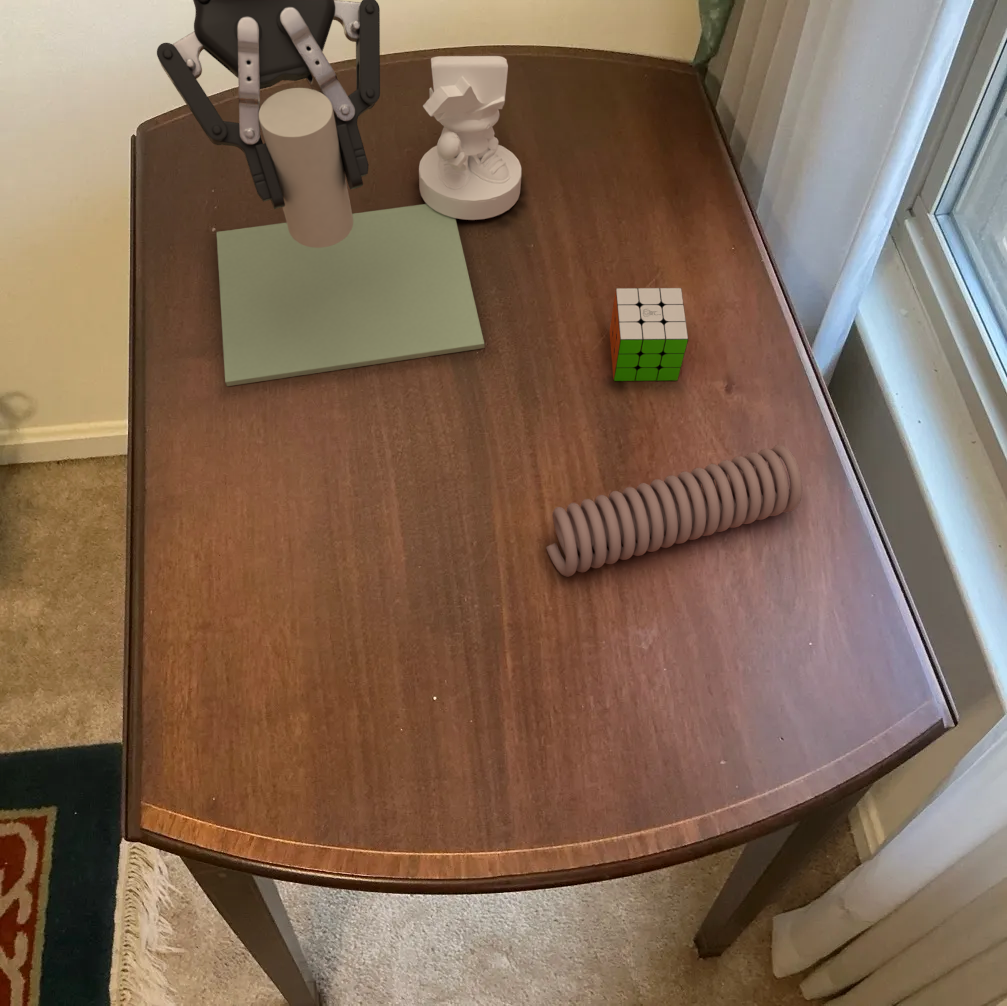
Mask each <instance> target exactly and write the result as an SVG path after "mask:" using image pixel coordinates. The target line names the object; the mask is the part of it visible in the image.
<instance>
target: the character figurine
mask: <svg viewBox="0 0 1007 1006" xmlns="http://www.w3.org/2000/svg"><path fill="white" fill-rule="evenodd" d="M430 65H431V75H432V87H433V88H432V87H430V88H429V98H428V99H427V100H426V102H425V103H423V105H422V107H423V109H424V110H425V111H426V113H427V114H428V115H429V116H430V117H433V118H434V119H435V120H436V121H437V122H439V123H440V124H441V125H442V126H443V128H442V130H441V133H440V136H439V138H438V140H437V144H436V145H435V146H433V147H431V148H430V149H429V150H428V151H427V152H425V153H424V155H423V156H422V158H421V159H420V161H419V166H418V179H419V180H418V185H419V186H418V187H419V188H418V189H419V193H420V194H419V195H420V197H421V198H422V200H423V201H424V203H425V204H428V205H429V206H430V207H431V208H432V209H434V210H435V211H437V212H439V213H441V214H443V215H446V216H449V217H453V218H456V219H459V220H466V221H467V220H468V221H475V220H476V221H477V220H485V219H491V218H494V217H497V216H500V215H503V214H504V213H506V212H507V211H510V209H511V208H512V207H513V206H515V204H516V203H517V201H518V200H519V199H520V194H521V187H522V186H521V184H522V165H521V162H520V160H519V159H518V158H517V156H516V155H515V154H514V153H513V152H512V151H510V150H509V149H507V148H506V147H505V146H502V144H501V145H500V144H499V139H498V138H497V137H495V135H496V133H495V130H494V128H493V127H494V126H495V125H496V124H497V123H498V122H499V119H500V111H499V110H503V107H504V106H505V102H506V92H507V91H506V90H507V82H508V72H509V71H508V70H509V64H508V61H507V58H505V57H504V56H502V55H453V56H452V55H451V56H450V55H447V56H444V55H443V56H442V55H441V56H433V57H431V58H430Z"/></svg>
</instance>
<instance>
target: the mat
mask: <svg viewBox="0 0 1007 1006" xmlns="http://www.w3.org/2000/svg"><path fill="white" fill-rule="evenodd" d="M352 215H353V227H352V229H351V231H350V233H349V234H348V236H347V237H346V238H344V239H343V240H342V241H340V242H339V243H337V244H334V245H332V246H328V247H321V248H314V247H308V246H305V245H302V244H300V243H298V242H297V241H296V240H294V239H293V237H292V236H291V235H290V233H289V230H288V226H287V222H281V223H280V222H279V223H274V224H273V223H272V224H265V225H259V226H252V227H251V226H250V227H244V228H236V229H229V230H222V231H221V230H220V231H216V248H217V249H216V251H217V264H218V265H217V267H218V282H219V300H220V301H219V302H220V318H221V335H222V353H223V367H224V372H223V373H224V383H225V385H226V387H231V386H232V387H233V386H240V385H247V384H253V383H259V382H264V381H266V382H267V381H273V380H279V379H280V380H281V379H286V378H294V377H300V376H306V375H312V374H319V373H327V372H333V371H340V370H346V369H352V368H353V369H354V368H362V367H368V366H372V365H373V366H374V365H380V364H387V363H393V362H401V361H408V360H414V359H420V358H427V357H433V356H435V357H436V356H442V355H447V354H455V353H461V352H468V351H475V350H481V349H482V350H483V349H485V340H484V336H483V331H482V327H481V323H480V318H479V314H478V310H477V305H476V300H475V297H474V292H473V288H472V283H471V279H470V276H469V270H468V267H467V266H468V265H467V262H466V257H465V252H464V249H463V244H462V240H461V236H460V231H459V227H458V223H457V218H453V217H449V216H446V215H443V214H441V213H439V212H437V211H435V210H434V209H432V208H431V207H430V206H429V205H428V204H427V203H421V204H416V205H408V206H407V205H406V206H400V207H393V208H386V209H378V210H370V211H364V212H355V213H352Z"/></svg>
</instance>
